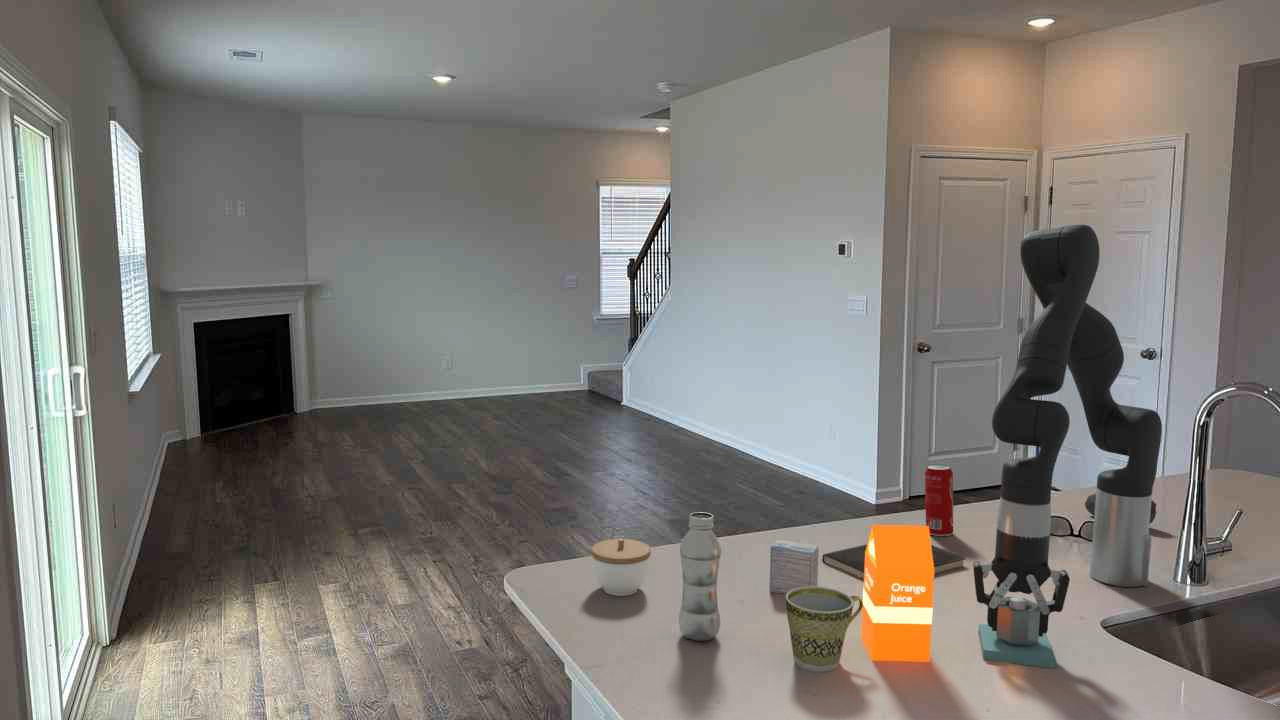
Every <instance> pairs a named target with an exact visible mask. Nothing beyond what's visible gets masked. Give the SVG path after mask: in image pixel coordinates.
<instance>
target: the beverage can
mask: <svg viewBox="0 0 1280 720" xmlns="http://www.w3.org/2000/svg"><path fill="white" fill-rule="evenodd" d="M924 485H925V487H924V490H925V491H924V492H925V502H924V503H925V526H929V532H930V536H935V537H947V536H951V535H952V534H953V533H954V472H953V470H952V466H951V465H946V464H941V463H939V464H935V463H934V464H928V465H926V469H925V471H924Z"/></svg>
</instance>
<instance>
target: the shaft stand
mask: <svg viewBox="0 0 1280 720" xmlns="http://www.w3.org/2000/svg"><path fill="white" fill-rule="evenodd" d="M1024 599H1025V598H1023V599H1021V597H1014V598H1010V604H1009V607H1011V608H1013V609H1018V610H1026V603H1027V602H1026V600H1024ZM978 638H979V644H980V649H981V655H982V659H983V660H987V661H993V662H994V661H995V662H1001V663H1008V664H1009V663H1011V664H1017V665H1025V666H1031V667H1038V668H1039V667H1040V668H1047V669H1056V668H1055V667H1056V666H1055V665H1056V657H1055V655H1054V652H1053V648H1052V645H1051V643H1050V640H1049V637H1048V634H1047V633H1046V634H1045V633H1043V637H1038V642H1035V643H1032V644H1028V645H1025V644H1017V643H1010V642H1007V641H1005V640H1003V639H1001V638H999V637H997V636H996V632H995V631H992V628H991V627H989V626H988V624H986V623H978Z"/></svg>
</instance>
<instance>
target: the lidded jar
mask: <svg viewBox="0 0 1280 720" xmlns="http://www.w3.org/2000/svg"><path fill="white" fill-rule="evenodd" d="M651 549H652V548H651V547H650V546H649V545H648V544H647V543H645V542H643V541H639V540H636V539H635V540H634V539H629V538H627V539H626V538H613V539H606V540H605V539H604V540H602V541H600V542H597V543H594V544H593V546H592V547H591V550H590V551H591V553H590V554H591V565H592V573H593V577H594V578H595V580H596V583H597V584H598V585H599V586H600V587H601V588H602V589H603V591H604V593H606V594H608V595H610V596H615V597H616V596H617V597H625V596H631V595H633V594H635V593H638V590H639V588H641V587H642V585H644V583H645V581H646V580H647V577H648V575H649V571H650V563H651V552H652V551H651Z"/></svg>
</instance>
